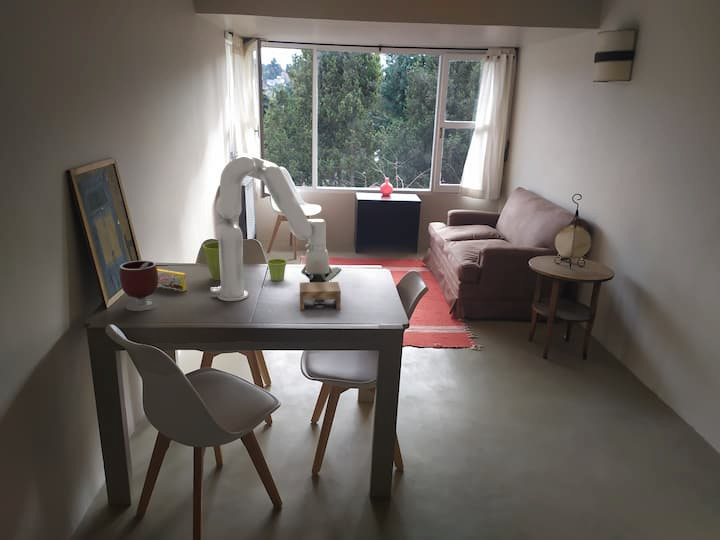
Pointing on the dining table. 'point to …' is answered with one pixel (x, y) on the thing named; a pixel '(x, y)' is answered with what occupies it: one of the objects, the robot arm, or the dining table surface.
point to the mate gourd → (139, 280)
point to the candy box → (171, 279)
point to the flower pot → (212, 258)
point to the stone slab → (335, 271)
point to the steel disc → (319, 304)
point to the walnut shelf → (320, 292)
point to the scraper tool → (317, 279)
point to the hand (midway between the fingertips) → (317, 286)
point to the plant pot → (277, 268)
